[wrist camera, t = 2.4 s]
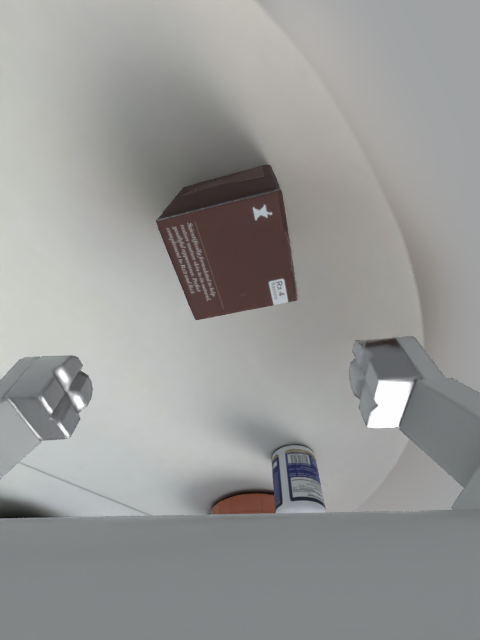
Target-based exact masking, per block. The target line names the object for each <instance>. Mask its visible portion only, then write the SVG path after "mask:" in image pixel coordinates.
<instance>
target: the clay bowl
mask: <svg viewBox="0 0 480 640" xmlns="http://www.w3.org/2000/svg"><path fill="white" fill-rule="evenodd" d="M267 513H276V512H275V498H274V495H271V494H265V493H247V494H240V495H236V496H233V497H230V498H227V499H225V500H222V501H220V502H219V503H217V504H216V505H215V506H214V507H213V508H212V510H211V513H210V515H212V514H267Z"/></svg>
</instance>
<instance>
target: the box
mask: <svg viewBox="0 0 480 640" xmlns="http://www.w3.org/2000/svg"><path fill="white" fill-rule="evenodd" d="M156 222H157V225H158V228H159V231H160V233H161V236H162V238H163V241H164V244H165V246H166V249H167V252H168V254H169V256H170V259H171V261H172V264H173V266H174V269H175V271H176V274H177V276H178V279H179V281H180V284H181V286H182V289H183V291H184V294H185V296H186V299H187V301H188V304H189V306H190V308H191V311H192V313H193V315H194V318H195V319H196V320H200V319H206V318H211V317H215V316H221V315H226V314H231V313H236V312H241V311H246V310H251V309H257V308H262V307H267V306H273V305H279V304H283V303H288V302H292V301H297V300H298V294H297V286H296V280H295V273H294V267H293V261H292V251H291V246H290V240H289V235H288V228H287V222H286V215H285V208H284V202H283V196H282V191H281V189H280V187H279V184H278V181H277V179H276V176H275V174H274V172H273V170H272V167H271V166H270V165H264V166H260V167H256V168H253V169H249V170H245V171H242V172H238V173H235V174H231V175H227V176H223V177H220V178H216V179H213V180H208V181H205V182H201V183H198V184H194V185H190V186H187V187H183V189H182V190H181V191H180V193H178V195H177V196H176V197H175V198H174V200H173V201H172V202H171V203H170V205H169V206H168V207H167V208H166V209H165V210H164V211H163V214H162V215H161V216H160V217H159V218H158V219H157V220H156Z"/></svg>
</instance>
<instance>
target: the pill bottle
mask: <svg viewBox="0 0 480 640" xmlns="http://www.w3.org/2000/svg"><path fill="white" fill-rule="evenodd" d="M272 472H273V485H274V498H275V512H276V513H322V512H326V509H325V504H324V498H323V494H322V489H321V484H320V479H319V474H318V469H317V464H316V459H315V455H314V453H313V452H312V451H311V450H310V449H308V448H306V447H304V446H299V445H289V446H285V447H282V448H280V449H278V450H277V451H276V452H275V453H274V454H273V456H272Z"/></svg>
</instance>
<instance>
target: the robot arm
mask: <svg viewBox="0 0 480 640" xmlns="http://www.w3.org/2000/svg"><path fill="white" fill-rule="evenodd" d="M352 352H353V354H354V356H355V359H354V360H353V361H352V362H351V363H350V369H349V378H350V384H351V388H352V391H353V394H354V395H355V396H356V397H357V398H359V399H360V404H359V410H360V412H361V415H362V417H363V420H364V422H365V425H366V427H367V428H399V429H400V430H401V431H402V432H403V433H404V434H405V435H406V436H407V437H408V438H410V439H411V440H412V441H413V442H414V443H415V444H416V445H417V446H418V447H420V448H421V449H422V450H423V451H424V452H425V453H426V454H427V455H428V456H430V457H431V458H432V459H433V460H434V461H435V462H436V463H437V464H438V465H439V466H440V467H442V468H443V469H444V470H445V471H446V472H447V473H448V474H449V475H451V476H452V477H453V478H454V479H455V480H456V481H457V482H458V483H459V484H460V485H461V486H463V487H464V489H463V490H462V492H461V493H460V495H459V496H458V498H457V499H456V501H455V502H454V504H453V506H452V510H431V511H430V510H429V511H382V512H381V511H380V512H322V513H267V514H212V515H159V516H107V517H56V518H4V519H0V640H480V393H479V392H477V391H475V390H473V389H472V388H470V387H468V386H466V385H464V384H462V383H460V382H458V381H457V380H455V379H453V378H445V376H444V375H443V374H442V372H441V371H440V370H439V369H438V367H437V366H436V365H435V363H434V362H433V361H432V359H431V358H430V357H429V355H428V354H427V353H426V351H425V350H424V349H423V347H422V346H421V345H420V343H419V342H418V341H417V340H416V338H414V337H412V336H406V337H393V338H383V339H366V340H355V342H354V345H353V350H352ZM82 366H83V365H82V363H81V361H80V360H79V358H78V357H76V356H42V357H25V358H23V359H20V360H19V361H18V362H17V363H16V364H15V365H14V366H13V367H12V368H11V369H10V370H9V371H8V373H7V374H6V375H5V376H4V377H3V378H2V379H1V380H0V479H1V478H2V477H3V476H4V475H5V474H6V473H7V472H9V471H10V470H11V469H12V468H13V467H14V466H15V465H16V464H17V463H18V462H20V461H21V460H22V459H23V458H24V457H25V456H26V455H27V454H28V453H30V452H31V451H32V450H33V449H34V448H35V447H36V446H37V445H38V444H39V443H41V441H42V440H57V439H70V437H71V435H72V433H73V431H74V430H75V428H76V426H77V424H78V422H79V420H80V416H79V412H80V411H82V410H83V409H84V408H86V407H87V406H88V404H89V402H90V400H91V396H92V390H93V388H92V383H91V380H90V378H89V376H88V375H86V374H85V373H83V372H82V371H81V369H82Z"/></svg>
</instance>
